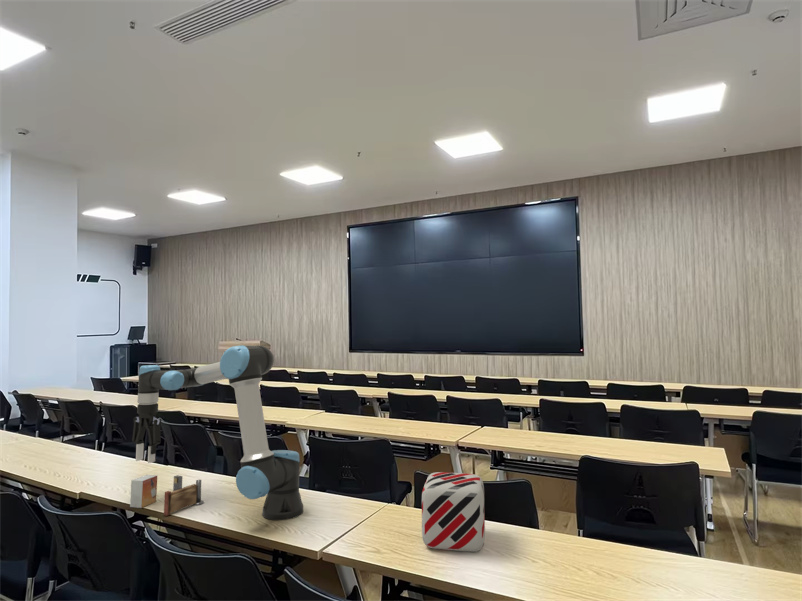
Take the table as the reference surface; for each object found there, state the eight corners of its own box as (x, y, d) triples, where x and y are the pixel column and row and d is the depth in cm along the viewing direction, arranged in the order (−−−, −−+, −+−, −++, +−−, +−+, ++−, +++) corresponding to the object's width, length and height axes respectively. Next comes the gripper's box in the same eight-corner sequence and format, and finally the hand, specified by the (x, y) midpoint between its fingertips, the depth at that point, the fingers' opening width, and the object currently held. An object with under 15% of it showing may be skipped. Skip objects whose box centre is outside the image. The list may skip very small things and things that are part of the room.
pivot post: (206, 502, 186) (207, 479, 187) (197, 505, 182) (198, 482, 183) (198, 500, 188) (199, 478, 189) (189, 504, 184) (190, 481, 185)
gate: (193, 503, 184) (194, 481, 185) (197, 504, 183) (197, 482, 184) (163, 515, 172) (164, 491, 173) (167, 515, 171) (168, 492, 172)
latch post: (185, 496, 194) (186, 475, 194) (178, 498, 191) (179, 477, 191) (177, 494, 196) (178, 474, 196) (170, 497, 193) (171, 476, 193)
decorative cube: (485, 557, 139) (484, 489, 141) (420, 552, 143) (419, 486, 145) (484, 530, 159) (484, 471, 161) (427, 526, 163) (427, 468, 164)
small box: (141, 508, 180) (142, 481, 181) (129, 507, 181) (130, 479, 182) (156, 501, 187) (157, 475, 188) (145, 500, 189) (146, 474, 190)
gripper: (172, 403, 187) (170, 461, 185) (140, 400, 195) (137, 456, 193) (156, 405, 180) (153, 466, 178) (123, 403, 188) (120, 460, 186)
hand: (145, 461), depth 186 cm, fingers open, 6 cm apart
